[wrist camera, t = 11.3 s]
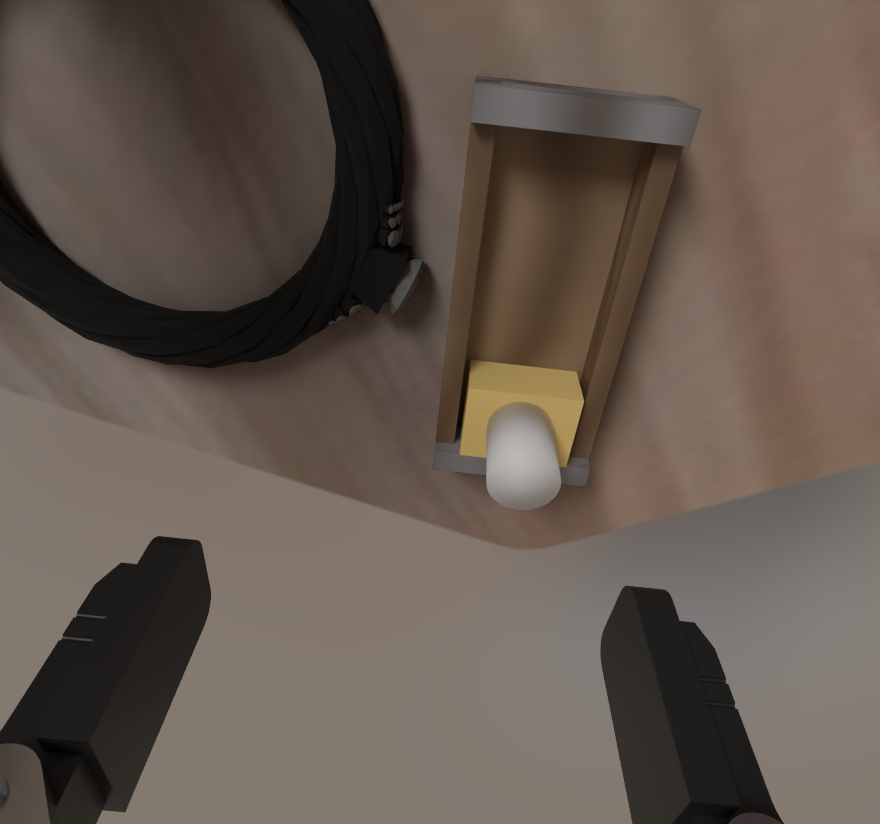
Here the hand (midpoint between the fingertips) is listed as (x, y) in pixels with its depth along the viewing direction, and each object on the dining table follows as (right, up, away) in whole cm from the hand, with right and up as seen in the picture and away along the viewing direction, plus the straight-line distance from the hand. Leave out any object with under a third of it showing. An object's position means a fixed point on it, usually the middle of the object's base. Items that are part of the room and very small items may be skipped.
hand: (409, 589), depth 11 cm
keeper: (+6, +4, +27) cm, 28 cm away
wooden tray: (+6, +11, +25) cm, 28 cm away
